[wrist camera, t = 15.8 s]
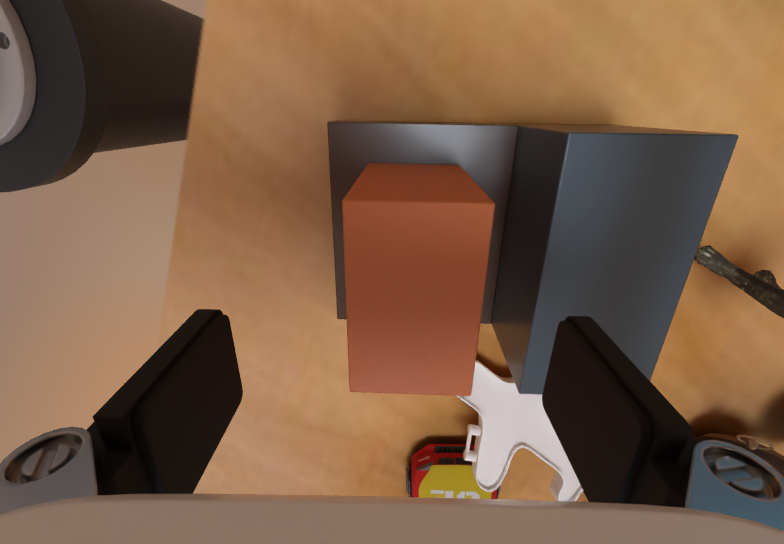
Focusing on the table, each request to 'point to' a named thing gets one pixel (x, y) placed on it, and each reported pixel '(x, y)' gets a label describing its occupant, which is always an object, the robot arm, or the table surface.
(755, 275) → the statue
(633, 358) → the display shelf
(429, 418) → the table surface
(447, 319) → the packet
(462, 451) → the toy car
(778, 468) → the dark brown angled piece
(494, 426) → the airplane toy
